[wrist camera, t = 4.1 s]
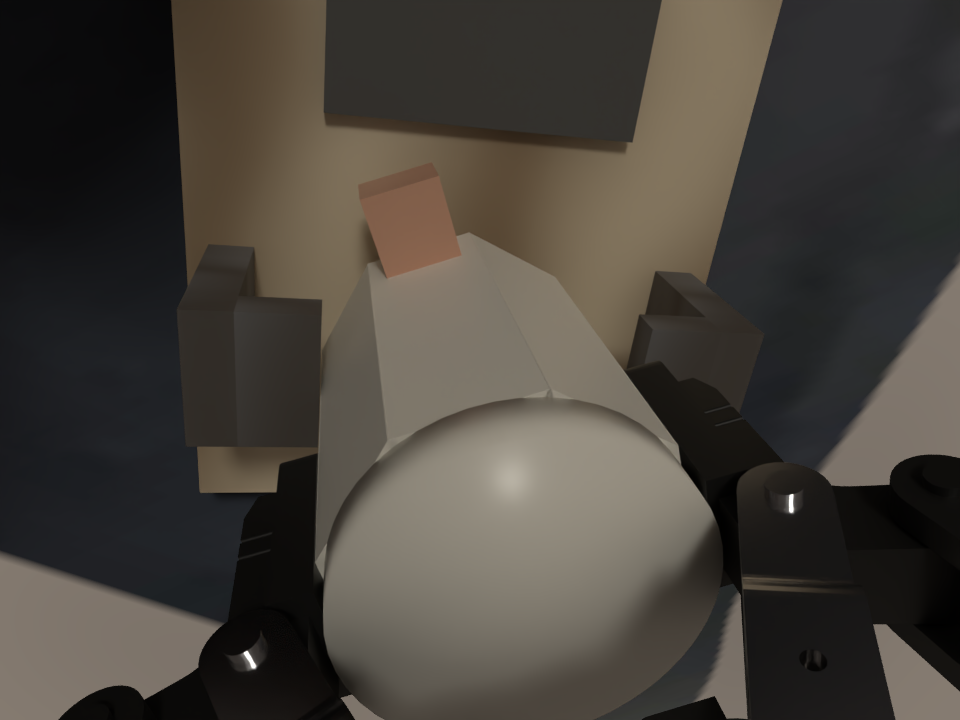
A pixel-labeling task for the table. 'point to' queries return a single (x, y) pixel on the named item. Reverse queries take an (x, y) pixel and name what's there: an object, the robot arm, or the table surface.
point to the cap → (493, 489)
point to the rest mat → (492, 63)
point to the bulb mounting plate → (471, 203)
